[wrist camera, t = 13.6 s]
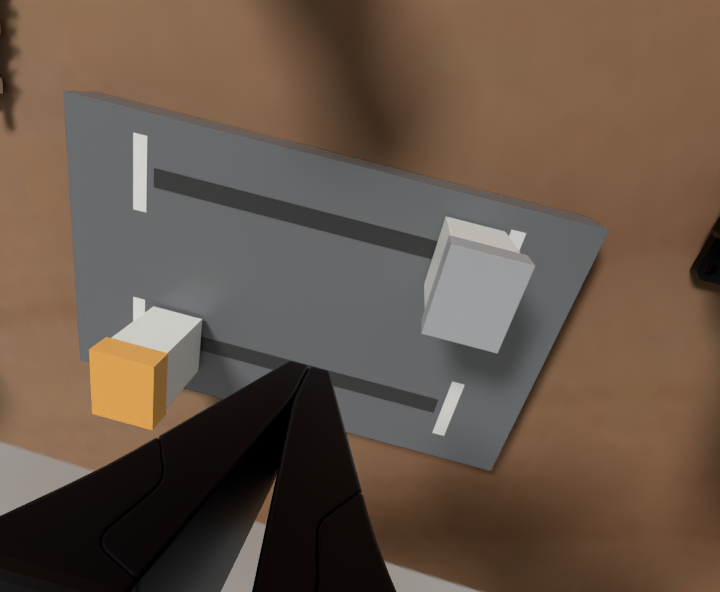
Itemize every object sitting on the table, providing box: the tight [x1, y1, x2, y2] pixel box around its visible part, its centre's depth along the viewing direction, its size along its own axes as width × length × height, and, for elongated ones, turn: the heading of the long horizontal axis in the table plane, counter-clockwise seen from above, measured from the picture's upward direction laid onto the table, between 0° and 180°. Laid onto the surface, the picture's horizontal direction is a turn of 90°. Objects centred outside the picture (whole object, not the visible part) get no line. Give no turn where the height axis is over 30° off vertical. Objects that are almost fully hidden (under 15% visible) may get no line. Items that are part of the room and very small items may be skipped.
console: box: [63, 91, 609, 471], centre depth 20 cm, size 22×13×2 cm, turn 77°
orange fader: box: [89, 306, 202, 430], centre depth 19 cm, size 3×3×4 cm
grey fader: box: [421, 216, 535, 354], centre depth 15 cm, size 3×3×4 cm
